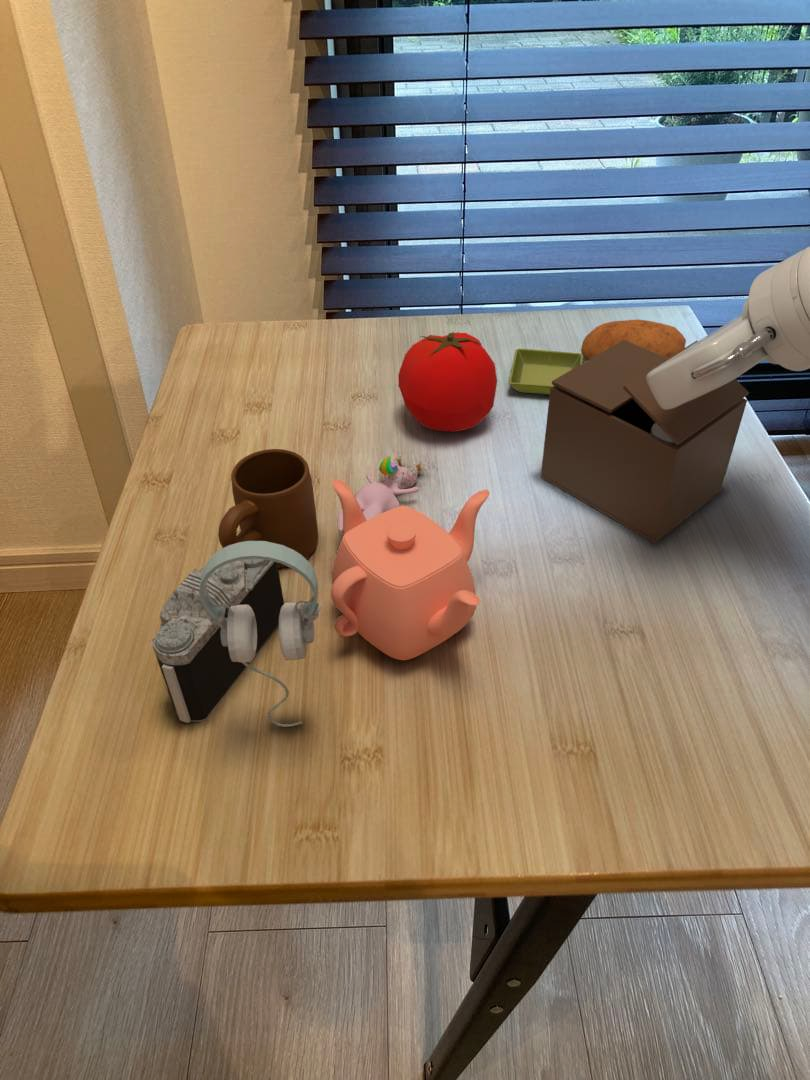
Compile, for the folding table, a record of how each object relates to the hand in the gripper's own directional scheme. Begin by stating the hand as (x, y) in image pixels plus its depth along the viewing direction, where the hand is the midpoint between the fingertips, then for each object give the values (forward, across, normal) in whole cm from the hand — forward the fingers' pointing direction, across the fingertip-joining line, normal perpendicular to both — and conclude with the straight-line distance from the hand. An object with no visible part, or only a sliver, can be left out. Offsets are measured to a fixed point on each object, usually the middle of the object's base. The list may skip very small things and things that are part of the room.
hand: (675, 372), depth 80 cm
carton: (+12, 0, -9) cm, 15 cm away
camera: (+20, -46, -1) cm, 50 cm away
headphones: (+13, -46, -9) cm, 49 cm away
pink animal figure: (+24, -22, +2) cm, 32 cm away
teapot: (+14, -30, -7) cm, 34 cm away
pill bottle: (+10, 0, -11) cm, 15 cm away
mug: (+25, -35, +4) cm, 43 cm away
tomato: (+29, -5, +7) cm, 30 cm away
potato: (+23, +20, +1) cm, 30 cm away
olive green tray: (+27, +10, +5) cm, 29 cm away
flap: (0, 0, -2) cm, 2 cm away
